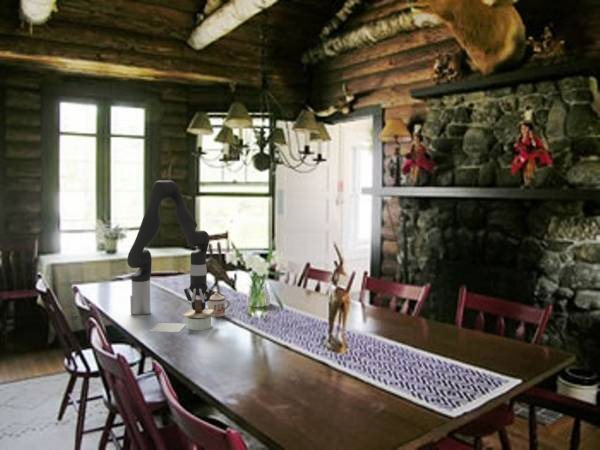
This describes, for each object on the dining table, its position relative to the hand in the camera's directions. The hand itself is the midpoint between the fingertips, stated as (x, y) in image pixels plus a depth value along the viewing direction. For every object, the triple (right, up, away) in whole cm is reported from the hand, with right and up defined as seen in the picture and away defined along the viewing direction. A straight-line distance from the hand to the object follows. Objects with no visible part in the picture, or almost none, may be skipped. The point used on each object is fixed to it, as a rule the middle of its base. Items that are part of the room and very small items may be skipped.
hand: (198, 309), depth 243 cm
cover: (0, -2, 0) cm, 2 cm away
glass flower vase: (+24, -5, +48) cm, 54 cm away
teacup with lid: (+6, -7, +25) cm, 27 cm away
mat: (-14, -9, 0) cm, 17 cm away
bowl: (0, -9, +1) cm, 9 cm away
